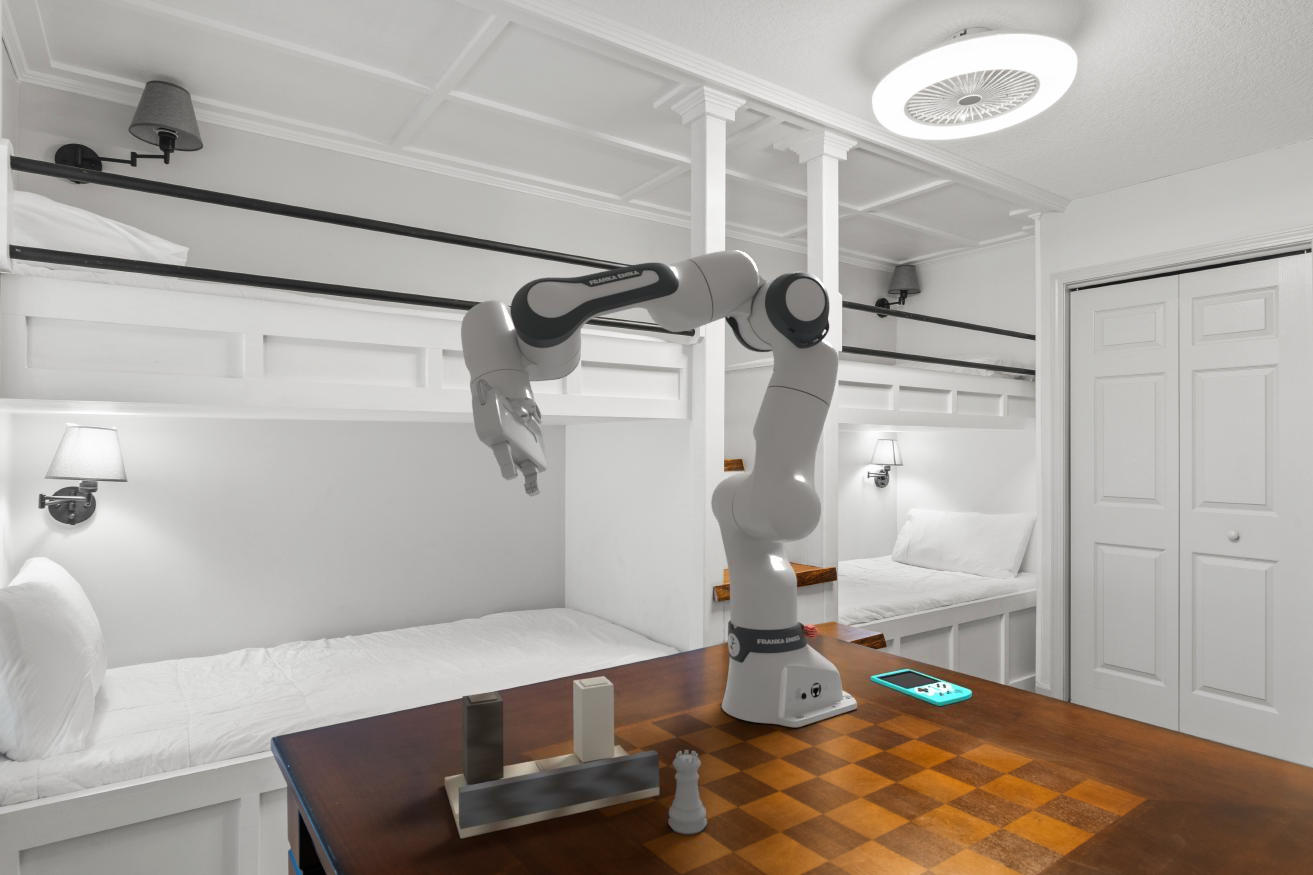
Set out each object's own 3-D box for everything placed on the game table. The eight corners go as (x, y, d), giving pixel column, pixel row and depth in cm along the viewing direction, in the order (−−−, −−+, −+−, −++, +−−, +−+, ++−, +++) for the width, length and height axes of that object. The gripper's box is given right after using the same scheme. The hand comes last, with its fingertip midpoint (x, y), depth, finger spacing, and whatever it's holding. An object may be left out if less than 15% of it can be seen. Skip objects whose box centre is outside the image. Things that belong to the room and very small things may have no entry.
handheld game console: (938, 709, 117) (938, 701, 117) (868, 682, 132) (868, 675, 132) (979, 699, 122) (979, 691, 122) (907, 674, 136) (907, 667, 136)
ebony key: (497, 765, 94) (497, 689, 94) (503, 777, 90) (503, 699, 90) (462, 771, 92) (462, 694, 92) (467, 784, 88) (467, 704, 88)
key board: (619, 751, 101) (619, 716, 101) (659, 794, 88) (658, 753, 88) (444, 784, 91) (444, 745, 91) (460, 838, 78) (460, 792, 78)
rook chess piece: (704, 837, 78) (703, 764, 78) (664, 833, 79) (663, 761, 79) (709, 817, 82) (708, 747, 82) (671, 813, 83) (671, 745, 83)
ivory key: (604, 745, 100) (603, 674, 100) (614, 756, 96) (613, 682, 96) (573, 751, 98) (573, 678, 98) (582, 762, 94) (581, 687, 94)
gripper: (497, 366, 96) (517, 459, 91) (544, 417, 115) (563, 496, 110) (453, 381, 96) (472, 474, 91) (508, 429, 115) (525, 508, 111)
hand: (522, 486), depth 101 cm, fingers open, 8 cm apart
